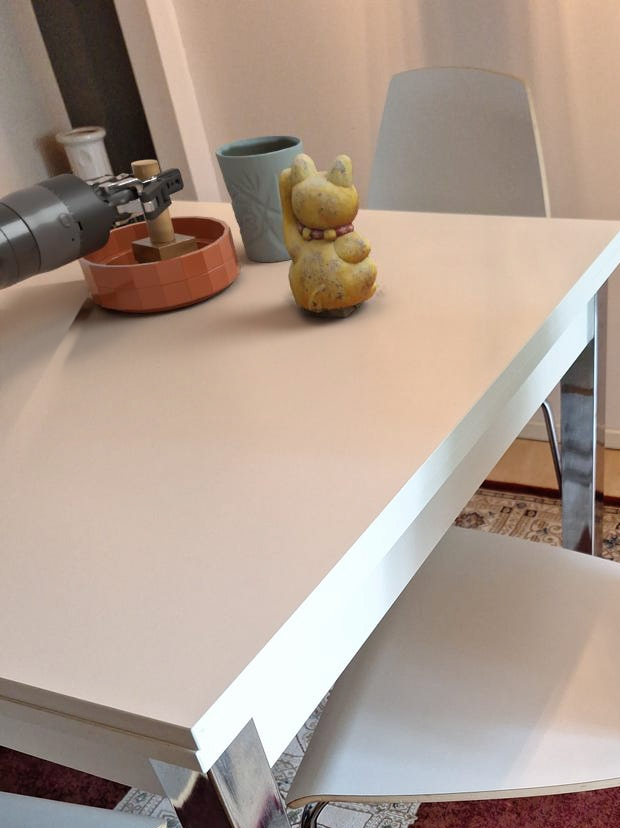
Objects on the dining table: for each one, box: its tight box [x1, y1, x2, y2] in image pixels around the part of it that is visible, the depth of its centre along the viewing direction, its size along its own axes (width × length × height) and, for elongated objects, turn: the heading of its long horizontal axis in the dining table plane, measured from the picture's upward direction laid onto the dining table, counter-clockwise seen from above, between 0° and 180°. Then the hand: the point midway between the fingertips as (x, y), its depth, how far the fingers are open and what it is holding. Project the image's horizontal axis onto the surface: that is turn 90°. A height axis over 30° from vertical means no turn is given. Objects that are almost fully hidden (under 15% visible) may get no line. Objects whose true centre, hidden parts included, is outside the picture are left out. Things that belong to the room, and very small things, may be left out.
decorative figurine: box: [278, 152, 378, 318], centre depth 94 cm, size 10×8×15 cm
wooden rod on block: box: [130, 159, 198, 264], centre depth 104 cm, size 5×5×12 cm
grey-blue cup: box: [214, 135, 304, 263], centre depth 112 cm, size 10×10×12 cm
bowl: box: [77, 215, 241, 314], centre depth 107 cm, size 17×17×6 cm
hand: (168, 177), depth 103 cm, fingers closed on wooden rod on block, 2 cm apart
